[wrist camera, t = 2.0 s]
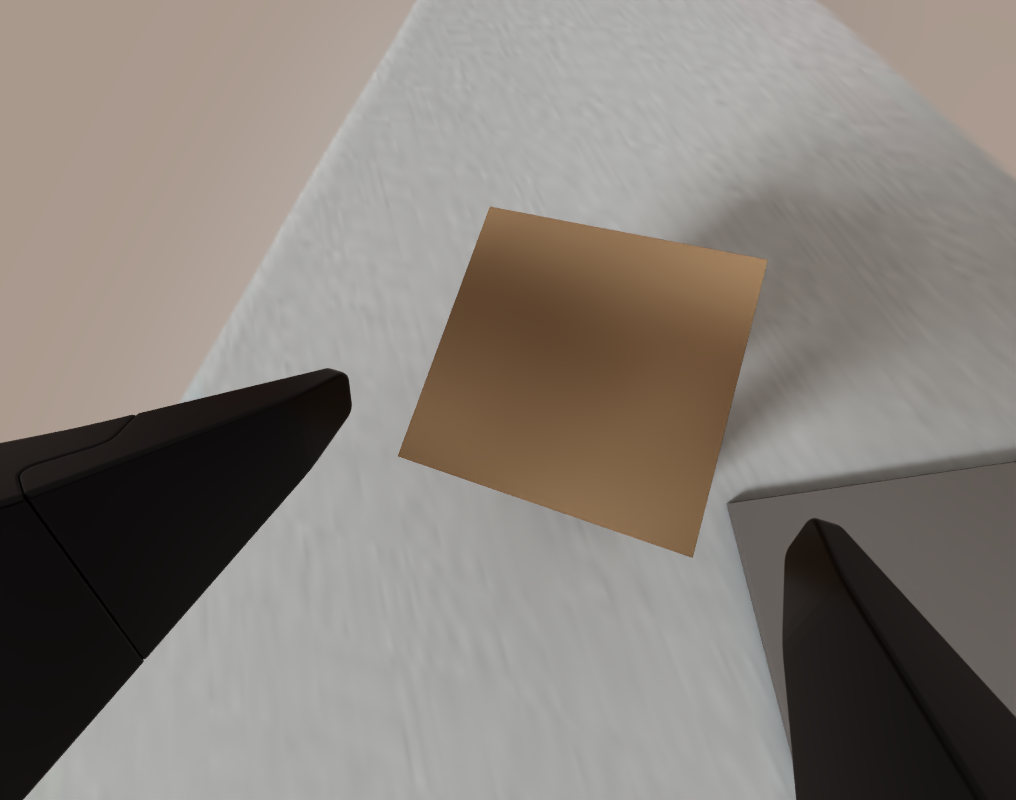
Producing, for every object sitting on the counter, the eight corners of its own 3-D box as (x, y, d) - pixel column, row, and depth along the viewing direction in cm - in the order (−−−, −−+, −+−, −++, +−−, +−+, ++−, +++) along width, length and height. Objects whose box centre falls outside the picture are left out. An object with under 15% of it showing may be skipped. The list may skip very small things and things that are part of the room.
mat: (1257, 855, 12) (1289, 873, 12) (822, 873, 14) (832, 889, 13) (1073, 453, 15) (1093, 450, 15) (726, 503, 17) (731, 503, 16)
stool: (640, 531, 17) (692, 557, 8) (488, 479, 18) (397, 456, 10) (681, 379, 18) (768, 260, 9) (535, 341, 19) (490, 206, 11)
